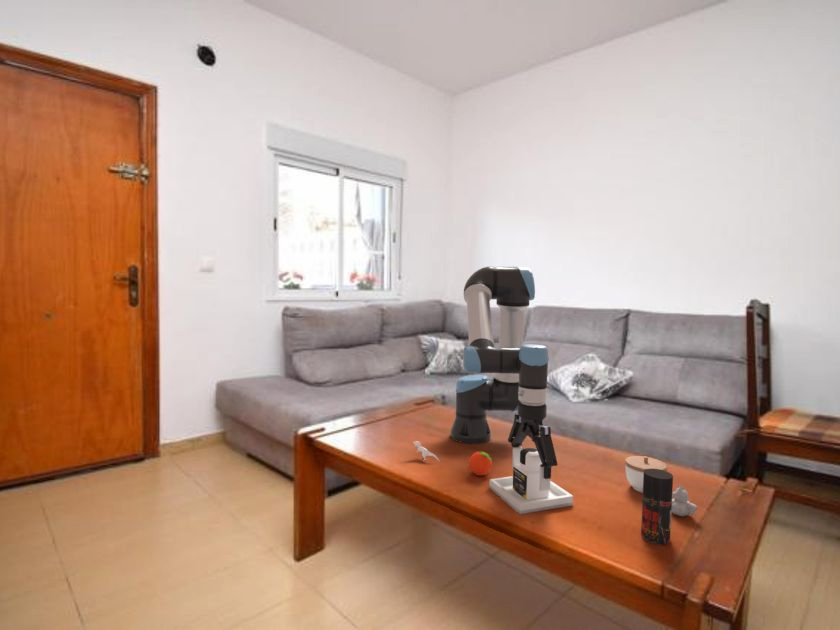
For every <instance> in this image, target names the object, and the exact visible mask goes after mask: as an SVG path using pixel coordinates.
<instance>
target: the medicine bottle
mask: <svg viewBox="0 0 840 630" xmlns="http://www.w3.org/2000/svg"><path fill="white" fill-rule="evenodd" d="M541 464H542V462H541V459H540V457H539V454H538V451H537V448H534V447H526V448H522V450H521V451H520V464H517V465H513V470H512V476H513V490H514V491H515V492H516V493H518V494H519V495H520V496H521V497H522V498H524V499H525V500H533V499H539V498H546V497H548V496H549V490H544V491H540V490H539V485H540V465H541Z"/></svg>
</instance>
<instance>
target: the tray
mask: <svg viewBox="0 0 840 630" xmlns="http://www.w3.org/2000/svg"><path fill="white" fill-rule="evenodd" d="M489 489H490V490H492V492H494V494H496V495H497V496H498V497H499V496H500V497H499V498H500V499H501V500H503V501H504V502H505V503H506V504H507V505H508V506H510V507H511V509H513V510H514V511H515V512H516V513H517V514H519V515H524V514H530V513H535V512H541V511H546V510H553V509H558V508H566V507H570V506H571V507H572V506H574V495H572V494H571V493H569V491H567V490H565V489H564V488H562V487H561V486H559V485H558V484H556V482H553V481H551V480H550V490H549V496H548V497H546V498H539V499H533V500H525V499H524V498H522V497H521V496H520V495H519V494H518V493H516V492H515V491H514V490H513V475H511V476H505V477H504V476H503V477H496V478H489Z"/></svg>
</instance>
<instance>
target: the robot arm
mask: <svg viewBox="0 0 840 630" xmlns="http://www.w3.org/2000/svg"><path fill="white" fill-rule="evenodd" d="M535 295H536V286H535V279H534V275H533V271H532V270H531V269H530V268H529V267H524V266H484V267H482V268H479V269H478V270H476V271H474V272H473V273H472V274H471V275H470V277H468V279H467V280H466V283H465V285H464V288H463V298H464V299H463V300H464V301H465V303H466V306H467V307H466V308H467V311H466V312H467V326H468V327H467V330H468V331H467V332H468V333H467V334H468V346H464V348H463V350H462V368H463V371H464V372H466V373H474V374H470V375H465V376H462V377H459V378H458V379H457V381H456V388H455V394H456V395H455V417H454V421H453V423H452V426H451V429H450V438H451V437H452V438H453V439H455V440H454V441H456V440H457V441H456V442H458V441H461V442H460V443H463V442H466V443H465V444H482V443H481V442H484V443H487V442H489V441H490V440H491V439H492V437H491V436H492V434H491V433H492V432H491V429H490V424H489V422H488V419H487V418H488V417H487V412H488V411H489V412H492V411H493V412H511V413H512V412H513V413H514V412H517V413H515V414H514V421H513V423H512V426H511V429H510V433H509V436H508V438H507V441H508V443H510V445H511V447H512V448H511V449H512V452H511V453H512V455H511V456H512V462H511V463H512V465H511V466H512V467H511V471H513V465H517V464H520V451H521V450H522V449H523V447H522V446H523V442H524V441H525V439H526V438H527V436H528V437H529V438H530V439H531V442H533V443H534V444H535V445H534V446H535V449H537V451H538V454H539V457H540V459H541V462H542V464H541V465H540V485H539V490H540V491H544V490H550V481H551V478H552V467H557V466H558V460H557V456H556V455H557V454H556V451H555V448H554V443H553V438H552V435H551V434H552V433H551V426H550V425H548V426H545V425H544V424H543V420H544V419H546V418H547V407H548V405H547V404H546V403H547V402H548V372H549V371H548V370H549V369H548V368H549V366H548V365H549V359H550V358H549V349H548V347H547V346H546V345H541V344H534V343H533V344H531V343H529V344H528V343H527V344H524V328H525V327H524V326H525V324H524V323H525V310H526V309H527V308H529V306H530V302H531V301H533V300H534V299H535V298H536V297H535ZM491 300H496V303H495V304H496V305H497V306H498V307H499V309H500V311H499V312H500V313H499V332H498V333H499V336H498V347H497V346H495V341H494V340H495V339H494V331H493V321H492V312H491V304H490V302H491ZM475 373H476V374H475ZM485 374H493V376H492V377H493V378H492V379H489V378H488V376H487V375H485ZM452 438H451V439H452ZM490 438H491V439H490ZM453 439H452V440H453ZM488 440H489V441H488ZM486 441H487V442H486Z"/></svg>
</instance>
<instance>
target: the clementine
mask: <svg viewBox="0 0 840 630" xmlns="http://www.w3.org/2000/svg"><path fill="white" fill-rule="evenodd" d="M492 465H493V460H492V458H491V456H490V455H489V454H488V453H487V452H485V451H480V450H479V451H475V452H474V453H472V455H471V456H470V458H469V460H468V466H469V468H470V470H471V472H473V474H475V475H477V476H485V475H487V474H489V472H490V471H491V469H492V467H493V466H492Z"/></svg>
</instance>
